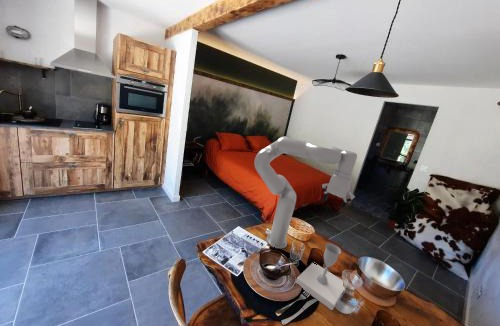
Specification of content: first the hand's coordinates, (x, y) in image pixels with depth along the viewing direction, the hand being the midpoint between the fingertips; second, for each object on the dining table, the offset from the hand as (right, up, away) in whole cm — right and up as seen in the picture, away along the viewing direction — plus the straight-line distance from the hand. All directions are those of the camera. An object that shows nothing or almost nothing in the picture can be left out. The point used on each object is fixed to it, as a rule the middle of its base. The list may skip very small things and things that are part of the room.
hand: (333, 204), depth 117 cm
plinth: (-11, -36, -13) cm, 40 cm away
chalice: (-11, -34, -14) cm, 38 cm away
